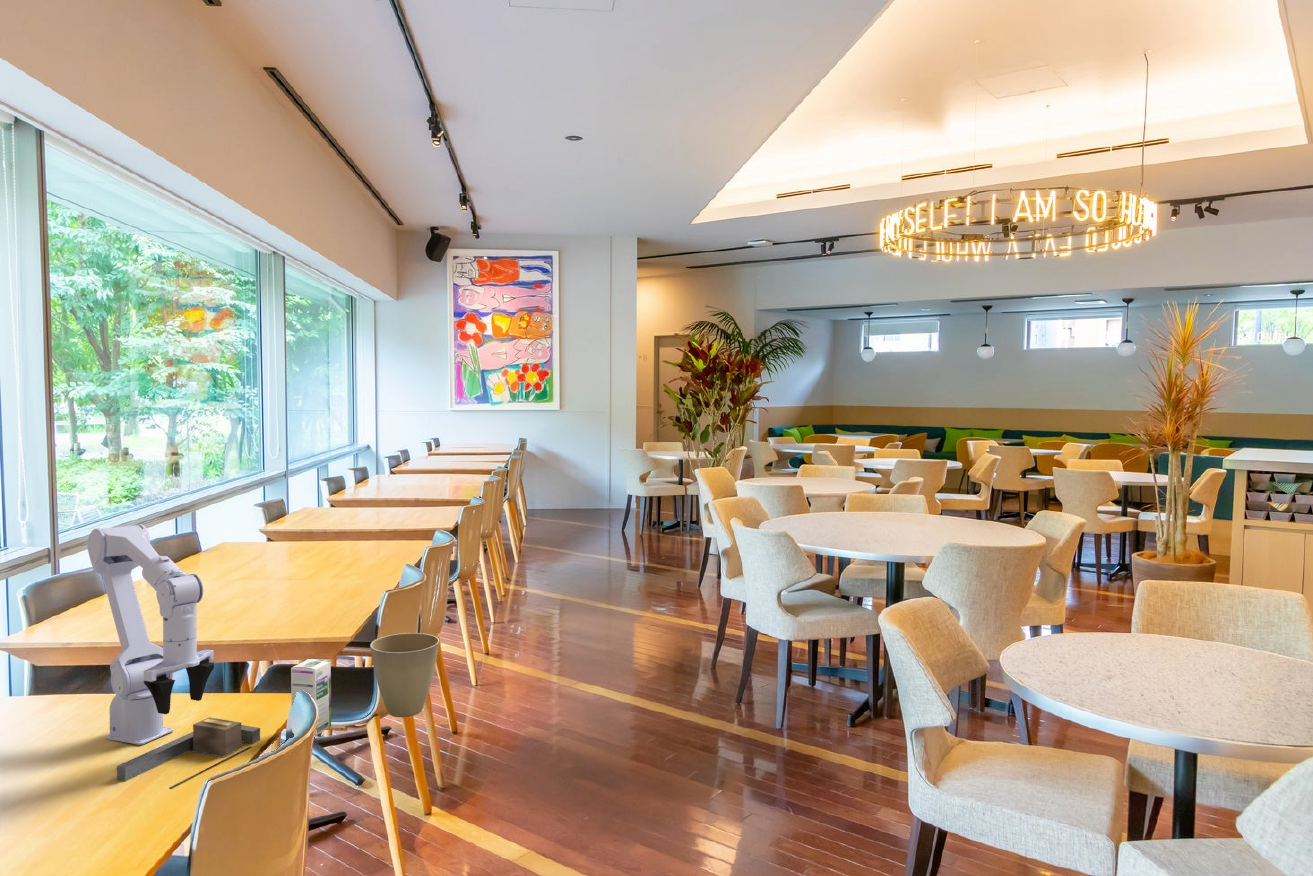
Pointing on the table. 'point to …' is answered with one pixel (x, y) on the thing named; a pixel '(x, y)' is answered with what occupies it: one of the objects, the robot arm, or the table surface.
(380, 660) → the plant pot
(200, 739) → the taupe rectangular block
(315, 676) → the syrup box
